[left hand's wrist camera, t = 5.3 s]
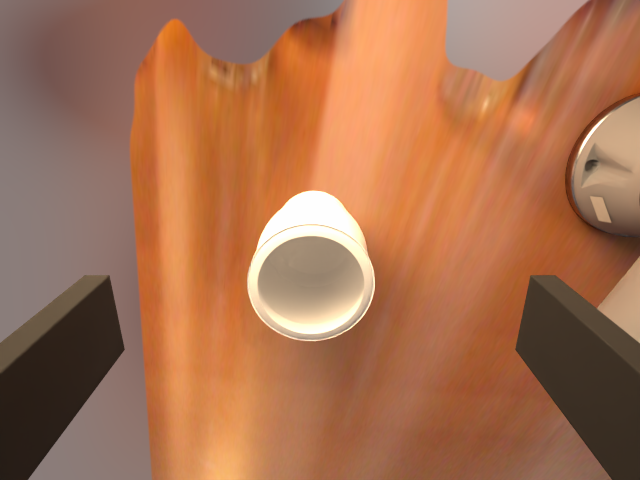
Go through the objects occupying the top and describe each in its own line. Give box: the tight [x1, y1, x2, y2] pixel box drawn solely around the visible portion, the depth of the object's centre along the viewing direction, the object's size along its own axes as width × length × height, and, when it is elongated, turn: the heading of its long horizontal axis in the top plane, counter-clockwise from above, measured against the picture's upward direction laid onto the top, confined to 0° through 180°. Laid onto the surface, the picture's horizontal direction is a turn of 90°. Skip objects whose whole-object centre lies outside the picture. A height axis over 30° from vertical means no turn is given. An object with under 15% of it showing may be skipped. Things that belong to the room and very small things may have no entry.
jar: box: [247, 191, 375, 341], centre depth 39 cm, size 11×10×15 cm
